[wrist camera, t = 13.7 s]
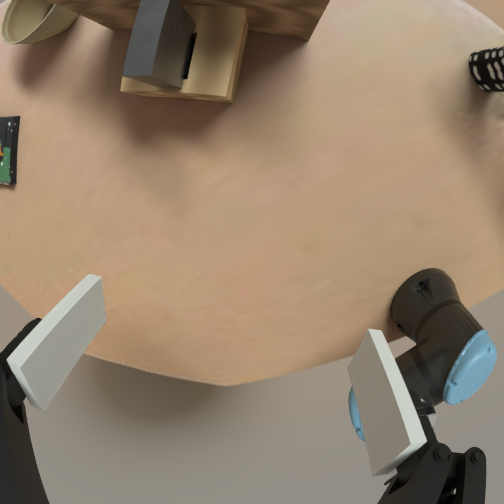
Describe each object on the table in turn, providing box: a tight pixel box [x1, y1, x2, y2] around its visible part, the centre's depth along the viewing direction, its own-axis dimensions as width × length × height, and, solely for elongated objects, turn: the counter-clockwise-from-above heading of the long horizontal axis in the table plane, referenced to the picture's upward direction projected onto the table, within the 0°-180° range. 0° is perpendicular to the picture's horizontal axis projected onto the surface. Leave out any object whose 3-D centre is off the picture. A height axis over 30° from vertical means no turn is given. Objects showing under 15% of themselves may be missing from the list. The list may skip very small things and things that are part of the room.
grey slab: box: [122, 0, 196, 89], centre depth 25 cm, size 3×9×16 cm, turn 170°
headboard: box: [46, 0, 330, 103], centre depth 25 cm, size 32×16×20 cm, turn 80°
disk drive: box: [0, 116, 20, 185], centre depth 39 cm, size 10×3×15 cm
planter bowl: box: [1, 0, 78, 44], centre depth 24 cm, size 16×16×11 cm
